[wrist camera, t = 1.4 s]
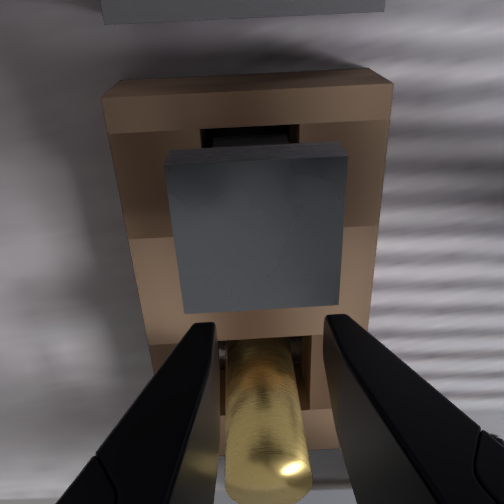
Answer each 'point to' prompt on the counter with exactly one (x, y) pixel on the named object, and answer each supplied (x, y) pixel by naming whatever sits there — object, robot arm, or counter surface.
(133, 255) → the socket block
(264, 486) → the brass rod
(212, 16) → the gray square frame
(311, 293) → the gray rectangular block
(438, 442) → the robot arm
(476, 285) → the counter surface
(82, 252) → the counter surface
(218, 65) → the counter surface
